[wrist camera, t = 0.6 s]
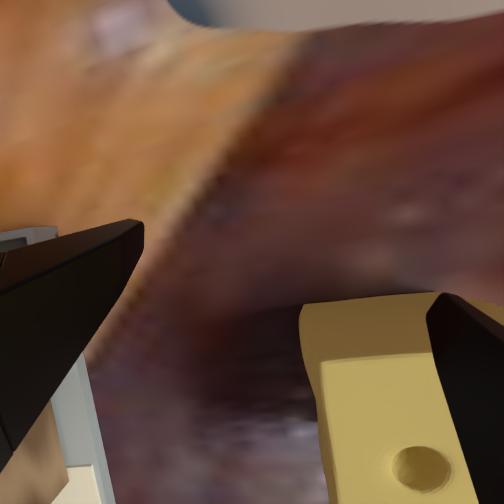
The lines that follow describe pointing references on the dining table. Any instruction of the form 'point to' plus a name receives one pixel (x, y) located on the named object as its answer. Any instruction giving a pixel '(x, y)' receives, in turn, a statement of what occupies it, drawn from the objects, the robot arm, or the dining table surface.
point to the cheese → (383, 402)
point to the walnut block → (36, 465)
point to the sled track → (73, 412)
